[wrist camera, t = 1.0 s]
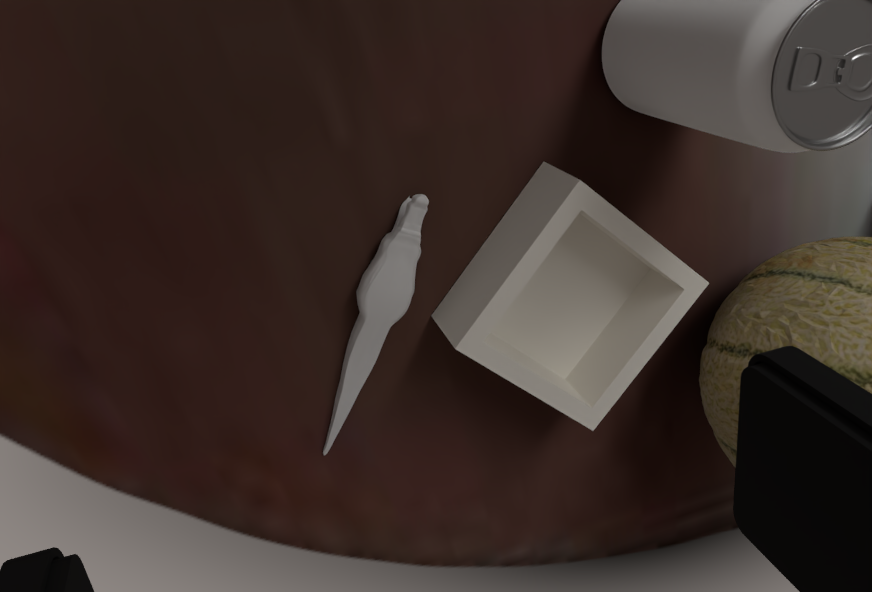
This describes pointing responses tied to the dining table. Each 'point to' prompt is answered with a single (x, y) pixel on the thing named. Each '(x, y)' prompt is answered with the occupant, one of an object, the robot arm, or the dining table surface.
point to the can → (747, 68)
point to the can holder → (567, 297)
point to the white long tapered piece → (379, 305)
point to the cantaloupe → (791, 323)
